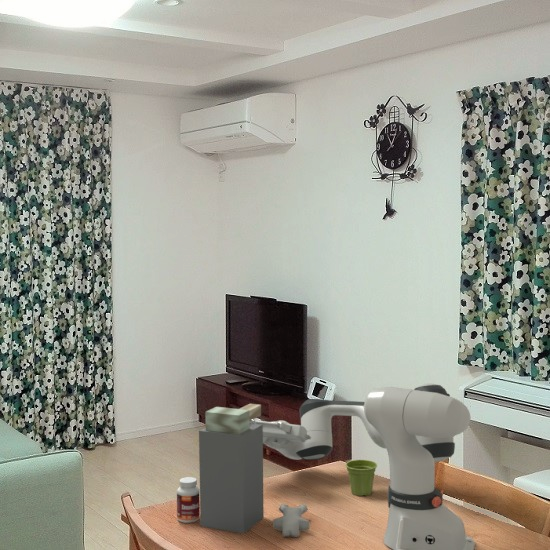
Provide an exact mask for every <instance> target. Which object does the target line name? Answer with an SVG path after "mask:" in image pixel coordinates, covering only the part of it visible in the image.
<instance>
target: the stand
mask: <svg viewBox="0 0 550 550" xmlns="http://www.w3.org/2000/svg"><path fill="white" fill-rule="evenodd" d="M249 425H250V429H248V430H246V431H244V432H243V433H241V434H232V433H224V432H215V431H207V430H206V426H205V427H202V428H201V429H200V430H198V448H199V449H198V453H199V460H198V461H199V462H198V463H199V504H200V517H199V519H200V520H199V521H200V522H199V523H200V527H204V528H209V529H216V530H221V531H227V532H231V533H237V534H243V535H245V534H246V533H247V532H248V531H249V530H250V529H252V528H253V527H254V526H255V525H257V524H258V523H259V522H260V521H261V520H262V519H264V518H265V516H264V515H265V514H264V513H265V512H264V510H265V509H264V445H263V425H262V424H253V423H249Z"/></svg>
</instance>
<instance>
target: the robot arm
mask: <svg viewBox="0 0 550 550" xmlns="http://www.w3.org/2000/svg"><path fill="white" fill-rule="evenodd" d="M333 416H343V417H344V416H349V417H357V418H359V419H360V420H361V421H362V423H363V426H364V427H365V430H366V431H367V434H368V436H369V437H370V439H371V441H372V442H374V444H375V445H376V446H378V447H380V448H382V449H386V452H387V454H388V461H389V463H388V464H389V485H388V490H387V505H388V506H387V507H388V517H387V524H386V529H385V533H384V536H383V542H384V545H386V546H387V547H389V548H390V549H392V550H475V549H476V543H475V540H474V539H473V538H472V537H471V536H470V535H469V536H468V535H466V528H465V524H464V522H463V520H462V518H460V517H459V516H458V515H457V514H456V513H454V511H452V510H451V509H450V508H448V507H447V506H446V505H445V504H444V503H443V500H444V499H443V496H444V490H443V489H441V491H440V490H438V488H436V487H435V486H436V485H435V480H436V479H435V475H436V474H435V470H436V469H435V467H436V463H438V462H440V463H441V462H443V461H445V460H448V459H449V458H452V456H453V455H454V454H455V449H456V443H455V442H454V437H455V436H457V435H460V434H462V433H464V432H465V431H466V430H467V429H468V427H469V426H470V423H471V412H470V410H469V409H468V407H467V406H466V405H465V403H464V402H462V401H460V400H458V399H457V398H455V397H452V396H451V395H450V394H449V393H448V392H447V390H446V389H445V387H443V386H442V385H440V384H435V383H424V384H421V385H419V386H418V387H415V388H414V389H410V388H402V387H395V386H385V387H384V386H383V387H375V388H373V389H372V390H370V391H369V392H368V394H367V395H366V397H365V400H364V401H353V400H352V401H351V400H329V399H321V398H308V399H307V400H305V401H304V402H303V403H302V404H301V406H300V407H299V418H300V419H299V420H300V424H292V423H290V422H287V421H286V420H276V421H265V420H255V419H253V420H251V421H249V423H253V424H262V425H263V446H265V447H266V446H267V447H269V448H270V449H273V450H276V451H278V452H279V453H280V454H282V455H283V456H284V457H286V458H288V459H290V460H305V461H317V460H322V459H324V458H326V456H328V455H329V454H331V452H332V451H333V434H332V433H333V432H332V418H333Z"/></svg>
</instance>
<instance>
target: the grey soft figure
mask: <svg viewBox="0 0 550 550" xmlns="http://www.w3.org/2000/svg"><path fill="white" fill-rule="evenodd" d="M278 510H279V512H280V513H281V514H282V516H280V517H277V518H275V519H273V520H272V521H273V522H272V523H273V525H272V526H273V529H275V530H278V531H281V533H282V537H295V538H296V537H300V532H302V531H307V530H310V520H309V519H307V518H304V517H302V516H303V514H305V513H306V512H308V511H309V508H308V507H307V505H306V504H300V505H298V506H297V507H292V506H290V507H289V505H288V504H285V503H281V504H280V505H279V508H278Z"/></svg>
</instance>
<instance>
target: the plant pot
mask: <svg viewBox="0 0 550 550" xmlns="http://www.w3.org/2000/svg"><path fill="white" fill-rule="evenodd" d="M345 467H346V471H347V473H348V477H349V479H348V480H349V485H350V492H351V493H352V495H354V496H357V497H361V496H370V495H371V494H372V493H373V487H374V480H375V479H374V478H375V472H376V470H377V467H378V464H377V463H376V462H375V461H372V460H368V459H354V460H348V461H347V462H346V463H345Z"/></svg>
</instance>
